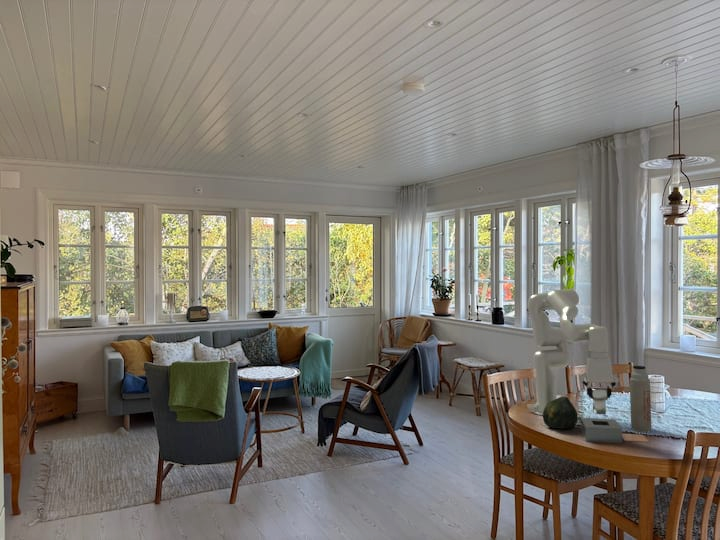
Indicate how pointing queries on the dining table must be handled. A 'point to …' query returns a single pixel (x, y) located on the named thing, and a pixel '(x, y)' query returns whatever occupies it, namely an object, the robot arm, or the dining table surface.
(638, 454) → the dining table surface
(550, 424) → the squash
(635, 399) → the thermos bottle
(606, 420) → the box
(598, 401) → the end cover
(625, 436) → the coaster
